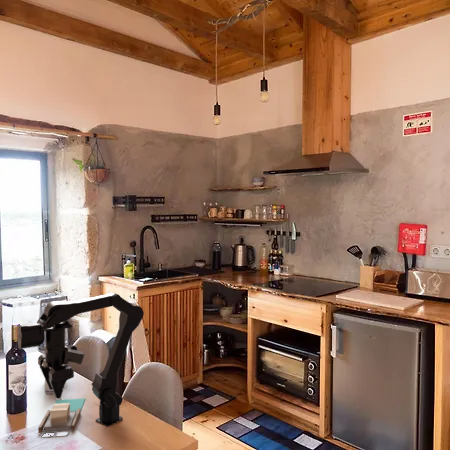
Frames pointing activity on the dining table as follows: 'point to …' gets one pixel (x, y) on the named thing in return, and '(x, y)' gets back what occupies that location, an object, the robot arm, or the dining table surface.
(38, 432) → the channel
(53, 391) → the energy drink
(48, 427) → the sled
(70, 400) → the mat
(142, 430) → the dining table surface
